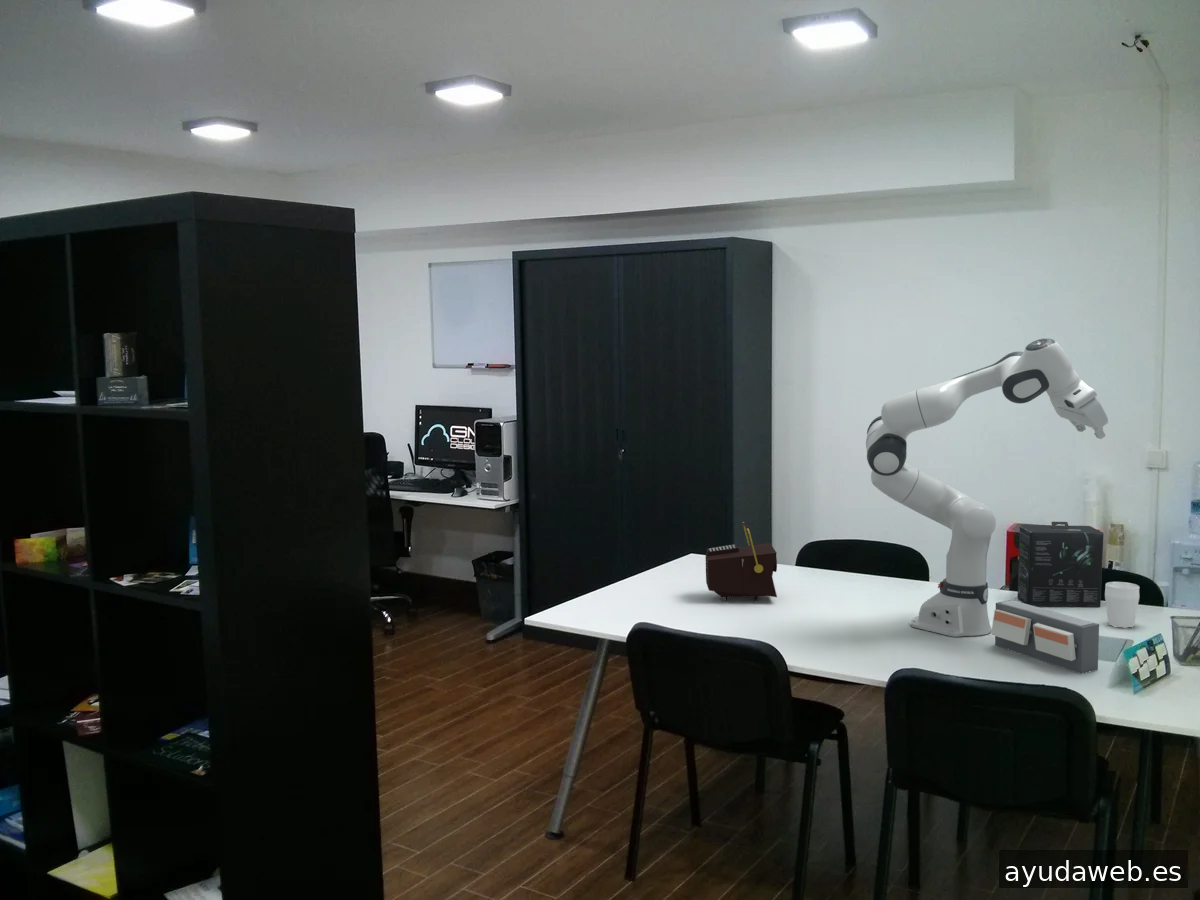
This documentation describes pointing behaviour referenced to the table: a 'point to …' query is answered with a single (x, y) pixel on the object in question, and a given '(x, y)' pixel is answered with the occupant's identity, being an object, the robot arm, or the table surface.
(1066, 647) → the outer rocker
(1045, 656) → the switch block
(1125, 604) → the cup
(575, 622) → the table surface
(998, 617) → the block
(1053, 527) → the headset box
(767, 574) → the dark brown boxy piece
